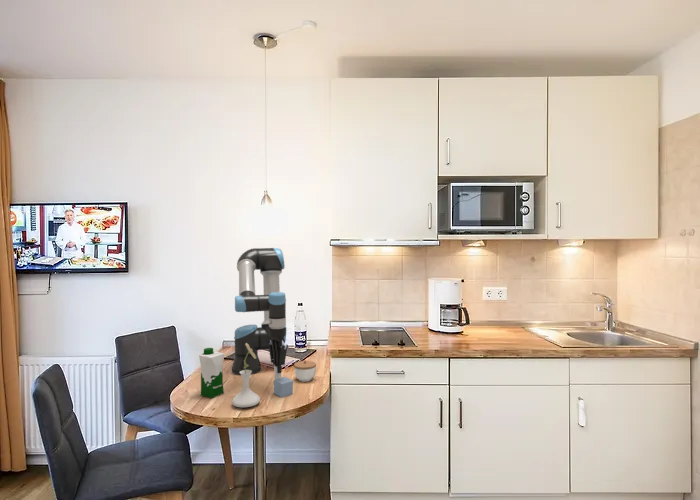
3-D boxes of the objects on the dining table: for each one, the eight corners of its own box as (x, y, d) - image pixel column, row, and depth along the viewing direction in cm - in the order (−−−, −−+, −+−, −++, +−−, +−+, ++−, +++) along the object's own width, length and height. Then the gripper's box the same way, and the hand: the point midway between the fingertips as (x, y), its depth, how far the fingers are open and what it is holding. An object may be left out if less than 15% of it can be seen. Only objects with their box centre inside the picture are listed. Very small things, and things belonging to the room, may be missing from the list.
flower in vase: (258, 409, 165) (257, 347, 165) (229, 410, 164) (228, 348, 164) (262, 397, 178) (261, 340, 178) (235, 398, 177) (234, 340, 177)
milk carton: (213, 389, 189) (212, 346, 188) (227, 393, 184) (226, 348, 183) (197, 395, 181) (196, 350, 181) (211, 399, 176) (210, 353, 176)
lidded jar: (312, 384, 195) (312, 364, 195) (291, 382, 197) (290, 363, 197) (318, 376, 205) (318, 358, 205) (298, 375, 207) (298, 356, 207)
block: (273, 379, 182) (282, 384, 178) (284, 376, 186) (293, 380, 182) (273, 393, 182) (281, 397, 178) (284, 389, 186) (292, 393, 182)
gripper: (262, 326, 186) (262, 378, 186) (278, 330, 176) (279, 385, 177) (276, 323, 191) (276, 374, 192) (292, 328, 182) (293, 381, 182)
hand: (277, 379), depth 184 cm, fingers closed
